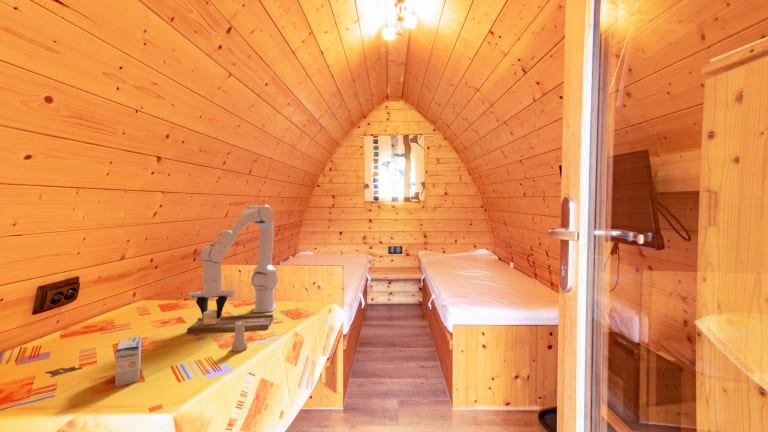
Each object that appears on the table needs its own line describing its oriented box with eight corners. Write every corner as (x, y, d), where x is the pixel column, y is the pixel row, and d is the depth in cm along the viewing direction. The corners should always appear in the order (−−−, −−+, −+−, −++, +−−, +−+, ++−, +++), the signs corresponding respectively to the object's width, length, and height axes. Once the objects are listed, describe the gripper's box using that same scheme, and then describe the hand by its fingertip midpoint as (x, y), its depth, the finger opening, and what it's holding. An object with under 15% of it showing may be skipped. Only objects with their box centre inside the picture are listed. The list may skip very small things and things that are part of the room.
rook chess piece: (250, 349, 94) (250, 322, 94) (234, 353, 90) (234, 325, 90) (244, 344, 97) (244, 318, 97) (229, 349, 94) (229, 322, 94)
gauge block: (208, 320, 114) (208, 308, 114) (220, 319, 115) (220, 308, 115) (203, 324, 109) (203, 313, 109) (215, 324, 110) (215, 312, 110)
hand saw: (156, 343, 99) (156, 341, 99) (162, 347, 96) (162, 345, 96) (44, 374, 80) (44, 371, 80) (47, 379, 77) (47, 377, 77)
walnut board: (199, 323, 116) (199, 317, 116) (273, 319, 120) (273, 313, 120) (187, 333, 106) (187, 326, 106) (268, 328, 110) (268, 322, 110)
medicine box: (118, 373, 79) (118, 338, 79) (141, 368, 82) (141, 335, 82) (115, 387, 73) (115, 349, 73) (139, 381, 75) (139, 345, 75)
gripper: (184, 282, 107) (184, 322, 107) (230, 281, 109) (230, 320, 109) (193, 278, 114) (193, 316, 114) (236, 277, 116) (236, 314, 116)
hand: (212, 317), depth 112 cm, fingers closed on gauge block, 4 cm apart
